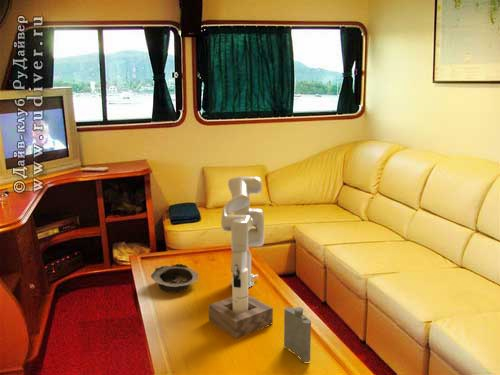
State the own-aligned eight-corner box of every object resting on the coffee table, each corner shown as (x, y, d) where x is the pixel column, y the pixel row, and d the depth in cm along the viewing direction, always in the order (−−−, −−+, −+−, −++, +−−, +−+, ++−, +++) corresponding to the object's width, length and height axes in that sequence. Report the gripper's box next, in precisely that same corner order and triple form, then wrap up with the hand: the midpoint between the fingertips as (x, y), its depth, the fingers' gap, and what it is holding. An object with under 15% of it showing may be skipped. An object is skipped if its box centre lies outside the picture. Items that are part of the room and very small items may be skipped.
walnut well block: (244, 308, 246) (244, 292, 244) (272, 324, 229) (272, 308, 228) (209, 320, 233) (208, 304, 231) (235, 338, 217) (235, 321, 215)
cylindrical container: (246, 324, 227) (246, 272, 222) (231, 323, 229) (230, 271, 223) (249, 317, 234) (249, 266, 229) (234, 315, 235) (234, 265, 230)
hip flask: (282, 346, 210) (283, 302, 206) (290, 343, 212) (291, 300, 208) (305, 364, 197) (306, 318, 193) (313, 361, 199) (314, 315, 195)
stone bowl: (156, 277, 283) (157, 262, 281) (200, 281, 283) (201, 265, 281) (146, 295, 259) (147, 278, 257) (194, 299, 259) (195, 282, 257)
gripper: (237, 239, 232) (238, 275, 236) (225, 252, 216) (226, 290, 220) (253, 241, 230) (253, 276, 234) (241, 254, 214) (242, 292, 218)
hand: (240, 283), depth 227 cm, fingers open, 8 cm apart
